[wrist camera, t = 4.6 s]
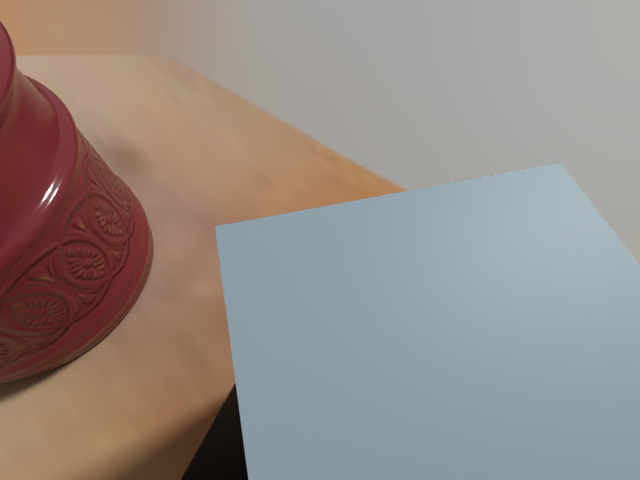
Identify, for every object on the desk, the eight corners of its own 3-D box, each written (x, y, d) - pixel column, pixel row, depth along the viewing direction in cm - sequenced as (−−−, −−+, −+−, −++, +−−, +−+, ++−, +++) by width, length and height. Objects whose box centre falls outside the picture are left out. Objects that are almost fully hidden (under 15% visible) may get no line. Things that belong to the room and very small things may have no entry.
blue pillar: (416, 449, 13) (934, 641, 2) (299, 490, 12) (325, 1056, 2) (376, 330, 15) (560, 162, 5) (274, 358, 14) (214, 226, 4)
